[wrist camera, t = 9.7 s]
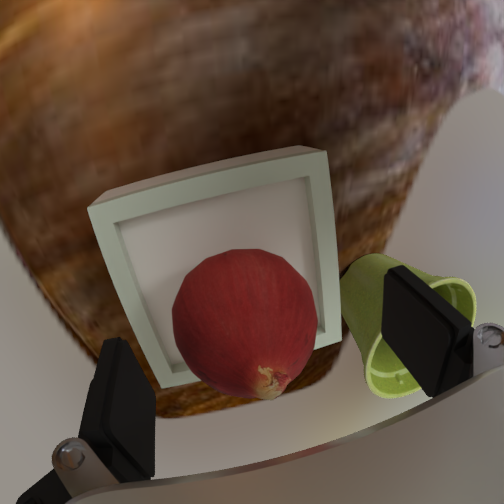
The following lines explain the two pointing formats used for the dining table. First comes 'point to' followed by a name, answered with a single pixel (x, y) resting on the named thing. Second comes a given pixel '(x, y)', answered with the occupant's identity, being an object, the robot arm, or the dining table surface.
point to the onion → (245, 323)
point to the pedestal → (217, 238)
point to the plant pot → (370, 317)
